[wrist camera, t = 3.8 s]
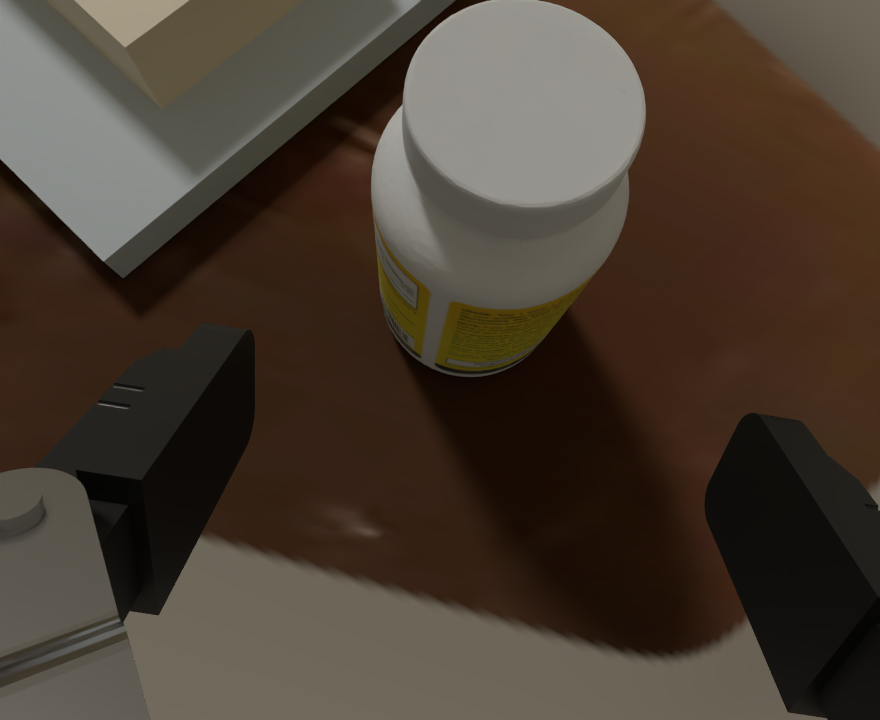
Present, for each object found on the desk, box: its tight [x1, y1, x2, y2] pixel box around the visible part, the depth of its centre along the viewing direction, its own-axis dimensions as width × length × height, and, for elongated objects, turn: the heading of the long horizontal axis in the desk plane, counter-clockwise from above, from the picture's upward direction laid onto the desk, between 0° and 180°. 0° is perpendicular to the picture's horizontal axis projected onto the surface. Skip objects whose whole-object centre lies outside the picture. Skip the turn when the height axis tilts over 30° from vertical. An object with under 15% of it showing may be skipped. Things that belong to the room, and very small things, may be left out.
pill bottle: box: [371, 0, 646, 377], centre depth 17 cm, size 6×6×11 cm
